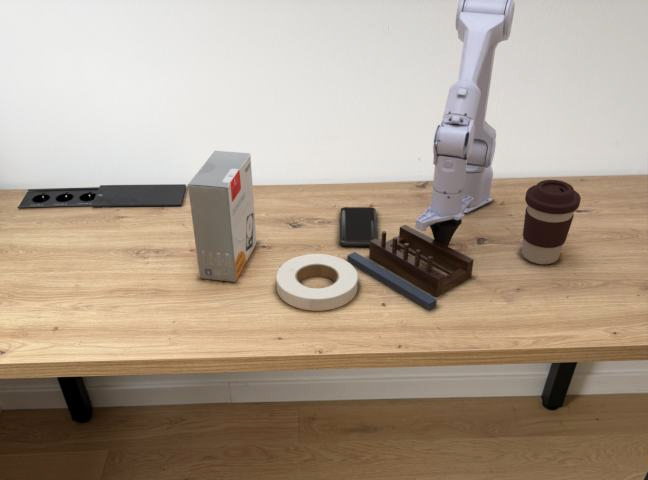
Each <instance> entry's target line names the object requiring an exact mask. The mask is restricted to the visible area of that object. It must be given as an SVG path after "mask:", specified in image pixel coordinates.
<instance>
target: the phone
mask: <svg viewBox="0 0 648 480" xmlns="http://www.w3.org/2000/svg"><path fill="white" fill-rule="evenodd" d="M339 222H340V223H339V245H340V246H341V247H344V248H345V247H347V248H351V247H352V248H370V241H371V240H373V239H377V240H379V239H378V237H379V236H378V223H377V209H376V208H375V207H369V206H367V207H366V206H365V207H363V206H362V207H361V206H343V207H342V208H340V220H339Z"/></svg>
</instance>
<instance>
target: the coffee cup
mask: <svg viewBox="0 0 648 480" xmlns="http://www.w3.org/2000/svg"><path fill="white" fill-rule="evenodd" d="M524 200H525V203H526V208H525V212H524V220H523V221H524V222H523V227H522V228H523V229H522V247H521V254H522V257H523V258H524V259H525V260H527V261H528V262H530V263H533V264H537V265H550V264H553V263H555V262H557V261H558V260H559V258H560V256H561V252H562V250H563V246H564V244H565V242H566V241H567V237H568V235H569V231H570V229H571V226H572V223H573V220H574V216H575V213H574V212H575V211H576V210H578V209H579V207H580V205H581V195H580V193H579V192H578V191H576V190H575V189H574V187H573V186H572V185H571V184H570V183H568V182H566V181H563V180H559V179H544V180H541V181H539V182H537V183H536V184H534V185H532V186H530V187H529V188H527V189H526V191H525V197H524Z"/></svg>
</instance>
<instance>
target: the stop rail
mask: <svg viewBox="0 0 648 480" xmlns="http://www.w3.org/2000/svg"><path fill="white" fill-rule="evenodd" d="M346 259H347V260H346V261H347V262H349V263H350V264H351V265H352V266H353V267H355V268H357V269H359V270H361V271H362V272H364V273H365V274H367V275H369V276H371V277H372V278H374V279H376V280H378V281H379V282H381V283H383V284H384V285H385V286H387V287H388V288H391V289H392V290H394V291H396V292H397V293H399V294H401V295H402V296H404V297H406V298H407V299H409V300H410V301H412V302H414V303H416V304H417V305H419V306H420V307H422V308H424V309H425V310H427V311H431V310H432V309H434V308H436V307H437V304H438V303H437V302H438V299H437V298H436V297H434V296H432V295H430V294H429V293H427V292H426V291H425V292H424V290H422V289H419V287H417V286H415V285H414V284H413V285H412V283H410V282H408V281H407V280H405V279H403V278H402V277H401V278H400V276H398V275H396V274H395V273H393V272H390V270H388V269H386V268H384V267H383V266H381V265H379V264H378V263H376V262H374V261H372V260H371V259H368V258H366V257H364V256H363V255H361V254H359V253H357V252H356V251H353V252H351V253H349V254H347V258H346Z"/></svg>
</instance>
